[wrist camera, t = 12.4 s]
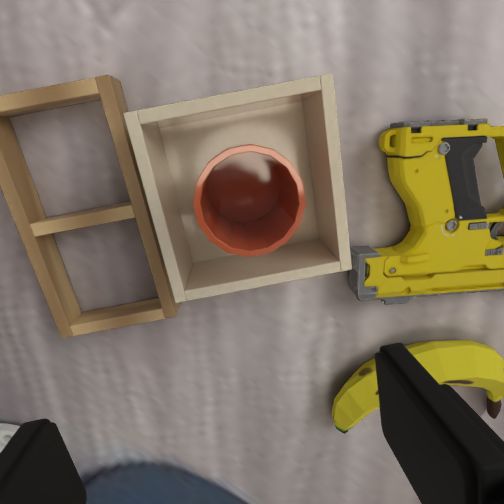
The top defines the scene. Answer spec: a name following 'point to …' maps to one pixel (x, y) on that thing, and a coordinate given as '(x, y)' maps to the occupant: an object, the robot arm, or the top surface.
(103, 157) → the top surface
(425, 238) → the toy gun
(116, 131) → the rack
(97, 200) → the top surface
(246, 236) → the cup
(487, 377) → the banana
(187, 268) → the open wooden box
